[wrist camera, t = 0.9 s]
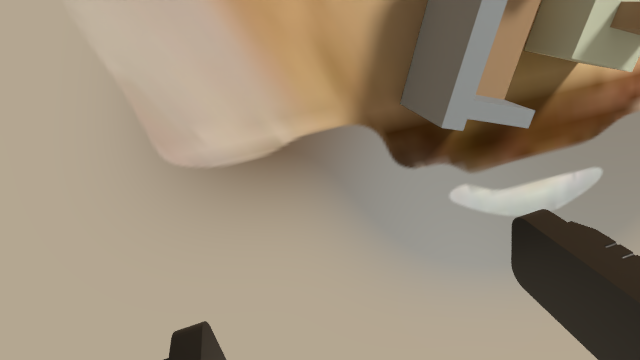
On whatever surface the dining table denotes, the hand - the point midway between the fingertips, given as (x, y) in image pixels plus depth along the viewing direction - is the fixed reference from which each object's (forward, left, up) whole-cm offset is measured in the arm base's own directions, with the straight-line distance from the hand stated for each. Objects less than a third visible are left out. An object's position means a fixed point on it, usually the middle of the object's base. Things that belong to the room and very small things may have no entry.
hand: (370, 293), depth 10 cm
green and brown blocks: (-11, +28, -28) cm, 41 cm away
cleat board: (-8, +17, -28) cm, 34 cm away
